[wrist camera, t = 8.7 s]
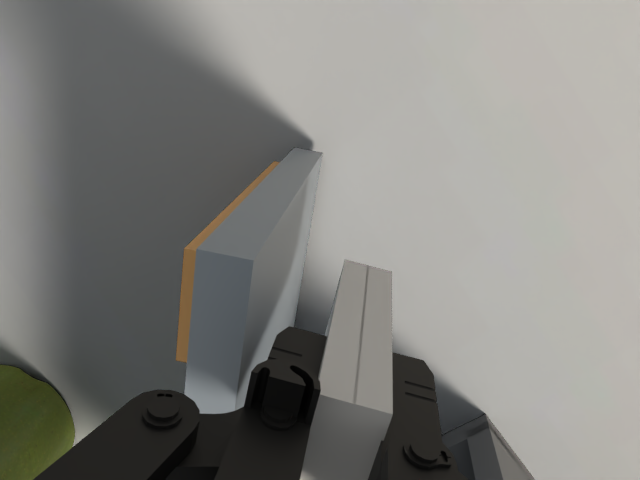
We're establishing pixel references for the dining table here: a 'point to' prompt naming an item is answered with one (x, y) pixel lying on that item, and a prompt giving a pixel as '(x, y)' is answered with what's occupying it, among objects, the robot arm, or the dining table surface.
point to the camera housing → (484, 452)
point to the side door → (245, 281)
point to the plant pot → (31, 425)
